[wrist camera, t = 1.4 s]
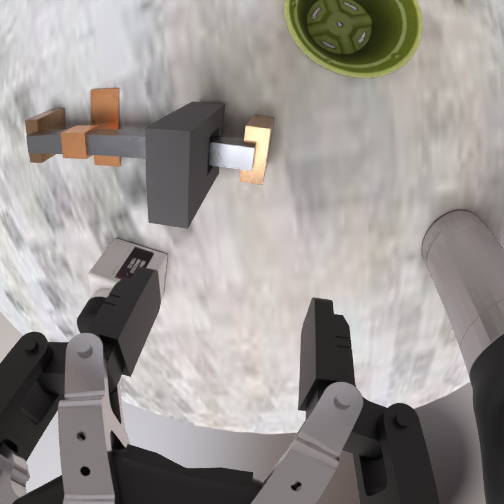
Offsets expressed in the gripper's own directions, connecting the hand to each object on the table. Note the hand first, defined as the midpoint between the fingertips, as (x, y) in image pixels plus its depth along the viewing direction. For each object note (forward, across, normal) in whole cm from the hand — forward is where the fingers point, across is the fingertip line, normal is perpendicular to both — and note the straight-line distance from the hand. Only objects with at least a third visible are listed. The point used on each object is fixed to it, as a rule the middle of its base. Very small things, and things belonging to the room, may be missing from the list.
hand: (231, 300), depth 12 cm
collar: (+20, +6, 0) cm, 21 cm away
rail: (+21, +13, 0) cm, 25 cm away
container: (+22, +15, +19) cm, 33 cm away
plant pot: (+22, -4, -13) cm, 26 cm away
